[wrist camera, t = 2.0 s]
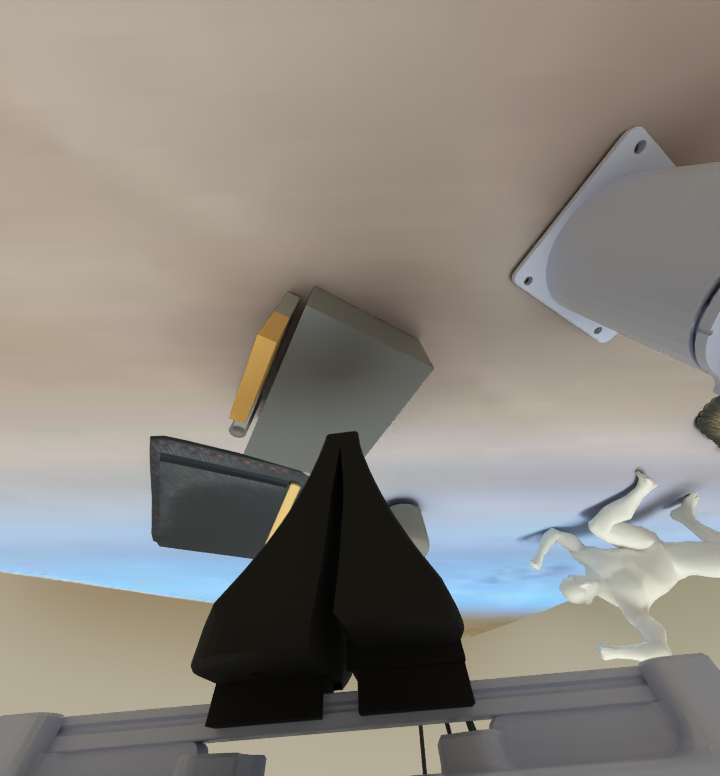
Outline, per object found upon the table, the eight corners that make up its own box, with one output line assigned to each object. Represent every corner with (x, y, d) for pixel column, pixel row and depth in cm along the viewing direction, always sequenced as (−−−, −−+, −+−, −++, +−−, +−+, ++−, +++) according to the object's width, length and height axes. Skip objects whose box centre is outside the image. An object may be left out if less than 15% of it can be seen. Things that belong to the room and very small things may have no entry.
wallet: (141, 441, 22) (318, 483, 26) (155, 425, 23) (319, 467, 27) (140, 552, 31) (268, 569, 35) (150, 535, 33) (271, 554, 37)
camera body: (418, 340, 19) (436, 372, 15) (340, 451, 25) (339, 494, 21) (314, 285, 16) (304, 308, 13) (256, 423, 23) (238, 466, 19)
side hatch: (302, 298, 17) (280, 343, 11) (258, 406, 21) (227, 476, 16) (285, 290, 16) (253, 332, 11) (245, 401, 21) (207, 471, 15)
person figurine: (821, 576, 19) (623, 690, 25) (819, 565, 25) (661, 658, 31) (618, 450, 29) (513, 551, 35) (651, 464, 35) (558, 548, 41)
